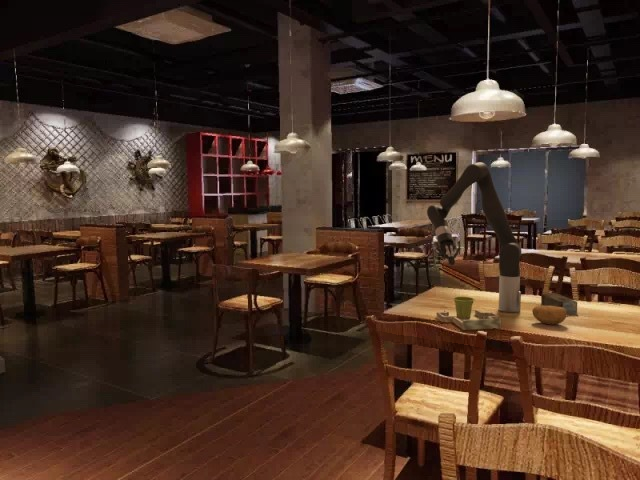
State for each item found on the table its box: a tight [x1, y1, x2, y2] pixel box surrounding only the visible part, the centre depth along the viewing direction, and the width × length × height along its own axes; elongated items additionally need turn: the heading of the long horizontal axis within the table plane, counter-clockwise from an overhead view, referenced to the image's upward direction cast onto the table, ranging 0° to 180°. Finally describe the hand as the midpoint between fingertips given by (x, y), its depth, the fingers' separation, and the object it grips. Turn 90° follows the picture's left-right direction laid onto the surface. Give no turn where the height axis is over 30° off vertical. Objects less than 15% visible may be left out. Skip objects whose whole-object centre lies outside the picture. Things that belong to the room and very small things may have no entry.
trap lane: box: [435, 309, 501, 331], centre depth 228 cm, size 26×23×4 cm
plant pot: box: [453, 296, 475, 319], centre depth 237 cm, size 9×9×9 cm
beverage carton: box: [540, 292, 578, 315], centre depth 250 cm, size 8×19×7 cm, turn 7°
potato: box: [531, 305, 568, 325], centre depth 224 cm, size 10×14×8 cm
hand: (452, 264), depth 249 cm, fingers closed
